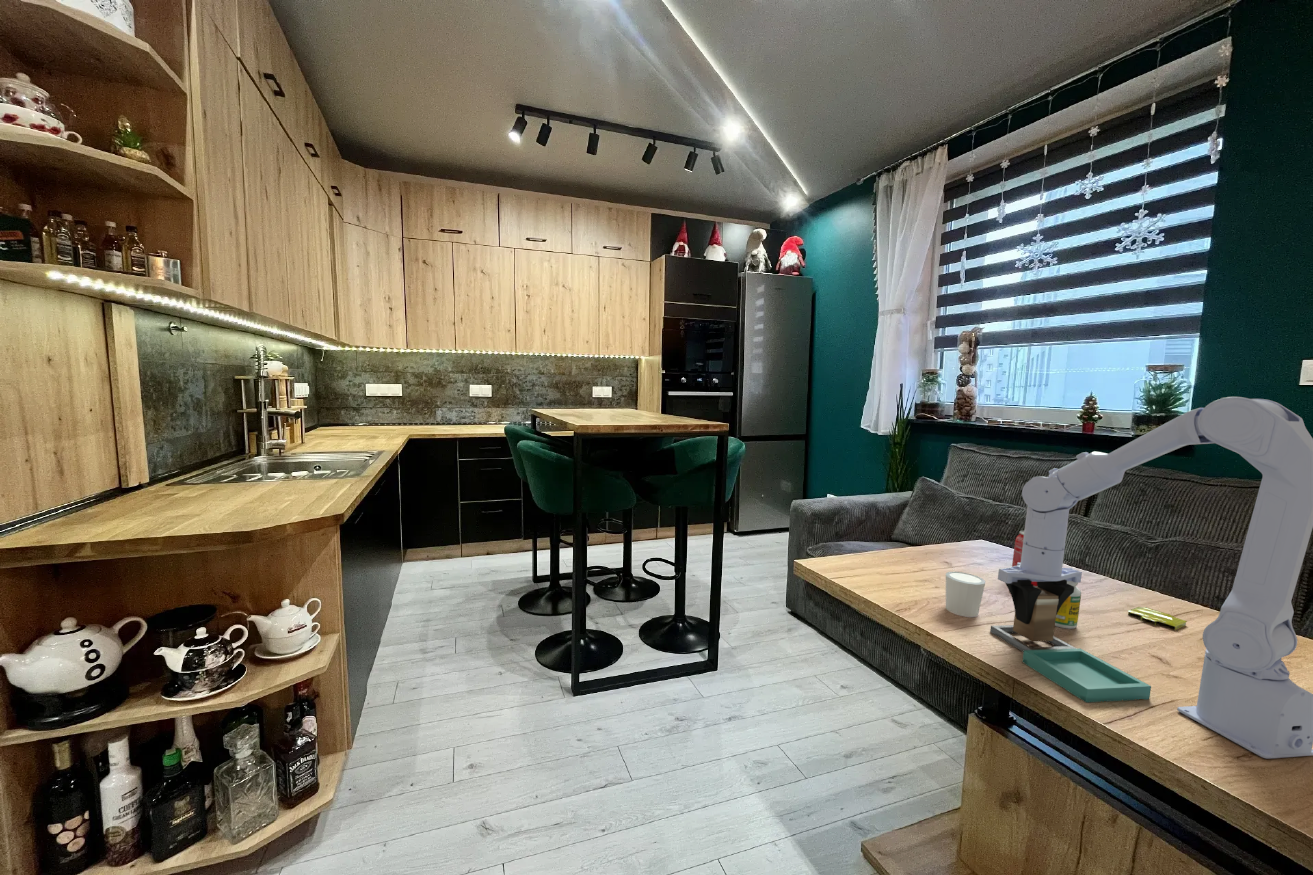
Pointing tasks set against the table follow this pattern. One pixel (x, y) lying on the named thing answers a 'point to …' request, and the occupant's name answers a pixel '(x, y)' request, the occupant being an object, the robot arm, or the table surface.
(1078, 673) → the tray
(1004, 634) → the holder collar
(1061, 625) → the supplement bottle
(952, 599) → the white cup
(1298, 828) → the table surface
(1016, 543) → the soda can
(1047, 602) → the brown tall block
